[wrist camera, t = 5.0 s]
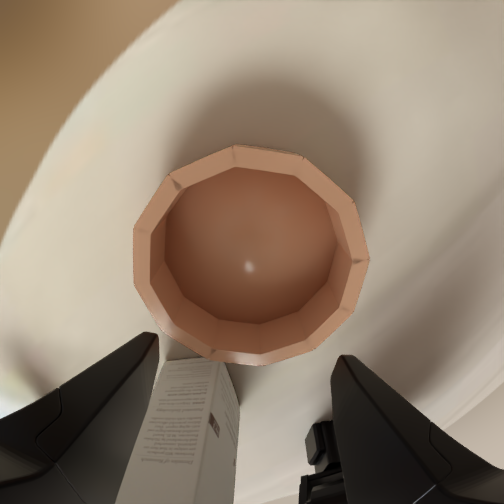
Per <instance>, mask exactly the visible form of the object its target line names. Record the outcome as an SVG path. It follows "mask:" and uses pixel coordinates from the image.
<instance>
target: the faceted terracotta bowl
mask: <svg viewBox="0 0 504 504" xmlns="http://www.w3.org/2000/svg"><path fill="white" fill-rule="evenodd" d="M369 259H370V257H369V253H368V249H367V245H366V241H365V238H364V234H363V230H362V226H361V223H360V219H359V215H358V212H357V208H356V205H355V202H354V200H352V199H351V198H350V197H349V196H348V195H347V194H346V193H345V192H344V191H343V190H342V189H340V188H339V187H338V186H337V185H336V184H335V183H334V182H333V181H331V180H330V179H329V178H328V177H327V176H326V175H325V174H324V173H322V172H321V171H320V170H319V169H318V168H317V167H315V166H314V165H313V164H312V163H311V162H310V161H308V160H307V159H306V158H305V157H303V156H300V155H298V154H296V153H293V152H287V151H281V150H275V149H270V148H266V147H255V146H248V145H241V144H236V145H232V146H230V147H227V148H225V149H222V150H220V151H218V152H215V153H213V154H210V155H208V156H206V157H204V158H201V159H199V160H197V161H194V162H192V163H190V164H188V165H186V166H183V167H181V168H179V169H177V170H175V171H173V172H171V173H169V174H168V175H167V176H166V178H165V179H164V181H163V182H162V184H161V185H160V187H159V188H158V190H157V191H156V193H155V194H154V196H153V197H152V199H151V200H150V202H149V203H148V205H147V206H146V208H145V210H144V211H143V213H142V214H141V216H140V218H139V219H138V221H137V222H136V224H135V226H134V228H133V274H134V284H135V285H134V286H135V288H136V289H137V291H138V293H139V295H140V296H141V298H142V300H143V301H144V303H145V305H146V306H147V308H148V310H149V311H150V313H151V315H152V316H153V318H154V319H155V321H156V323H157V324H158V326H159V327H160V329H161V331H163V330H164V331H163V333H165V334H167V335H168V336H170V337H171V338H173V339H174V340H176V341H178V342H179V343H181V344H183V345H184V346H186V347H187V348H189V349H191V350H192V351H194V352H196V353H197V354H199V355H201V356H202V357H204V358H206V359H209V360H212V361H219V362H227V363H235V364H244V365H254V366H262V365H263V366H265V365H268V364H272V363H275V362H278V361H282V360H285V359H288V358H291V357H294V356H297V355H300V354H303V353H306V352H309V351H312V350H313V349H315V348H317V347H318V346H319V345H320V344H321V343H322V342H323V341H324V340H325V339H326V338H327V337H329V336H330V335H331V334H332V333H333V332H334V331H335V330H336V329H337V328H338V327H339V326H340V325H341V324H342V323H343V322H344V321H345V320H346V319H347V318H348V317H349V316H350V315H351V314H352V312H354V309H355V306H356V303H357V300H358V297H359V294H360V291H361V288H362V284H363V281H364V278H365V275H366V271H367V268H368V265H369V261H370V260H369Z"/></svg>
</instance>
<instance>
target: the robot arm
mask: <svg viewBox="0 0 504 504" xmlns="http://www.w3.org/2000/svg"><path fill="white" fill-rule="evenodd" d="M158 364H159V337H158V335H157V334H156V333H150V332H143V333H141V334H139V335H138V336H136V337H135V338H133V339H132V340H130V341H129V342H127V343H126V344H124V345H123V346H121V347H120V348H118V349H116V350H115V351H113V352H112V353H110V354H109V355H107V356H106V357H104V358H103V359H101V360H100V361H98V362H96V363H95V364H93V365H92V366H90V367H89V368H87V369H86V370H84V371H83V372H81V373H79V374H78V375H76V376H75V377H73V378H72V379H70V380H69V381H67V382H66V383H64V384H62V385H61V386H60V387H59V388H56V389H55V390H53V391H51V392H50V393H48V394H47V395H45V396H43V397H42V398H40V399H38V400H37V401H35V402H33V403H31V404H30V405H28V406H26V407H24V408H22V409H20V410H18V411H16V412H14V413H12V414H10V415H8V416H6V417H3V418H1V419H0V504H115V502H116V499H117V496H118V492H119V489H120V486H121V483H122V480H123V477H124V475H125V472H126V469H127V466H128V463H129V460H130V457H131V454H132V451H133V448H134V446H135V443H136V440H137V437H138V434H139V432H140V429H141V426H142V423H143V421H144V418H145V415H146V412H147V409H148V406H149V402H150V398H151V393H152V389H153V385H154V380H155V376H156V372H157V368H158ZM330 382H331V395H332V408H333V420H331V421H323V422H321V423H315V424H313V425H312V427H311V429H310V431H309V433H308V435H307V437H306V439H305V444H306V451H307V458H308V463H309V464H310V465H314V466H315V472H316V473H315V474H312V475H305V476H301V484H300V488H299V504H504V470H502V469H499V468H497V467H495V466H493V465H491V464H490V463H488V462H487V461H485V460H484V459H482V458H481V457H479V456H478V455H476V454H474V453H473V452H471V451H470V450H469V449H467V448H466V447H464V446H463V445H461V444H460V443H458V442H457V441H456V440H454V439H453V438H452V437H450V436H449V435H448V434H446V433H445V432H444V431H443V430H441V429H440V428H439V427H438V426H437V425H435V424H434V423H433V422H430V420H429V419H428V418H427V417H426V416H425V415H423V414H422V413H421V412H420V411H419V410H417V409H416V408H415V407H414V406H413V405H411V404H410V403H409V402H408V401H407V400H406V399H404V398H403V397H402V396H401V395H400V394H398V393H397V392H396V391H395V390H394V389H392V388H391V387H390V386H389V385H388V384H387V383H385V382H384V381H383V380H382V379H381V378H380V377H378V376H377V375H376V374H375V373H374V372H372V371H371V370H370V369H369V368H368V367H367V366H365V365H364V364H363V363H362V362H361V361H360V360H358V359H357V358H356V357H355V356H353V355H341V356H339V358H338V360H337V362H336V365H335V367H334V370H333V372H332V375H331V381H330Z"/></svg>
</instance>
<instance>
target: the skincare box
mask: <svg viewBox="0 0 504 504" xmlns="http://www.w3.org/2000/svg"><path fill="white" fill-rule="evenodd" d="M239 421H240V407H239V403H238V400H237V396H236V393H235V390H234V387H233V384H232V381H231V378H230V376H229V373H228V371H227V368H226V365H225V363H224V362H219V361H212V360H209V359H206V358H204V357H199V358H189V359H180V360H172V361H166V362H164V364H163V367H162V369H161V372H160V375H159V377H158V380H157V382H156V385H155V388H154V391H153V393H152V396H151V398H150V402H149V406H148V409H147V412H146V415H145V418H144V421H143V423H142V426H141V429H140V432H139V434H138V437H137V440H136V443H135V446H134V448H133V451H132V454H131V457H130V460H129V463H128V466H127V469H126V472H125V475H124V477H123V480H122V483H121V486H120V489H119V492H118V496H117V499H116V502H115V504H233V501H234V488H235V474H236V459H237V446H238V434H239Z"/></svg>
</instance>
